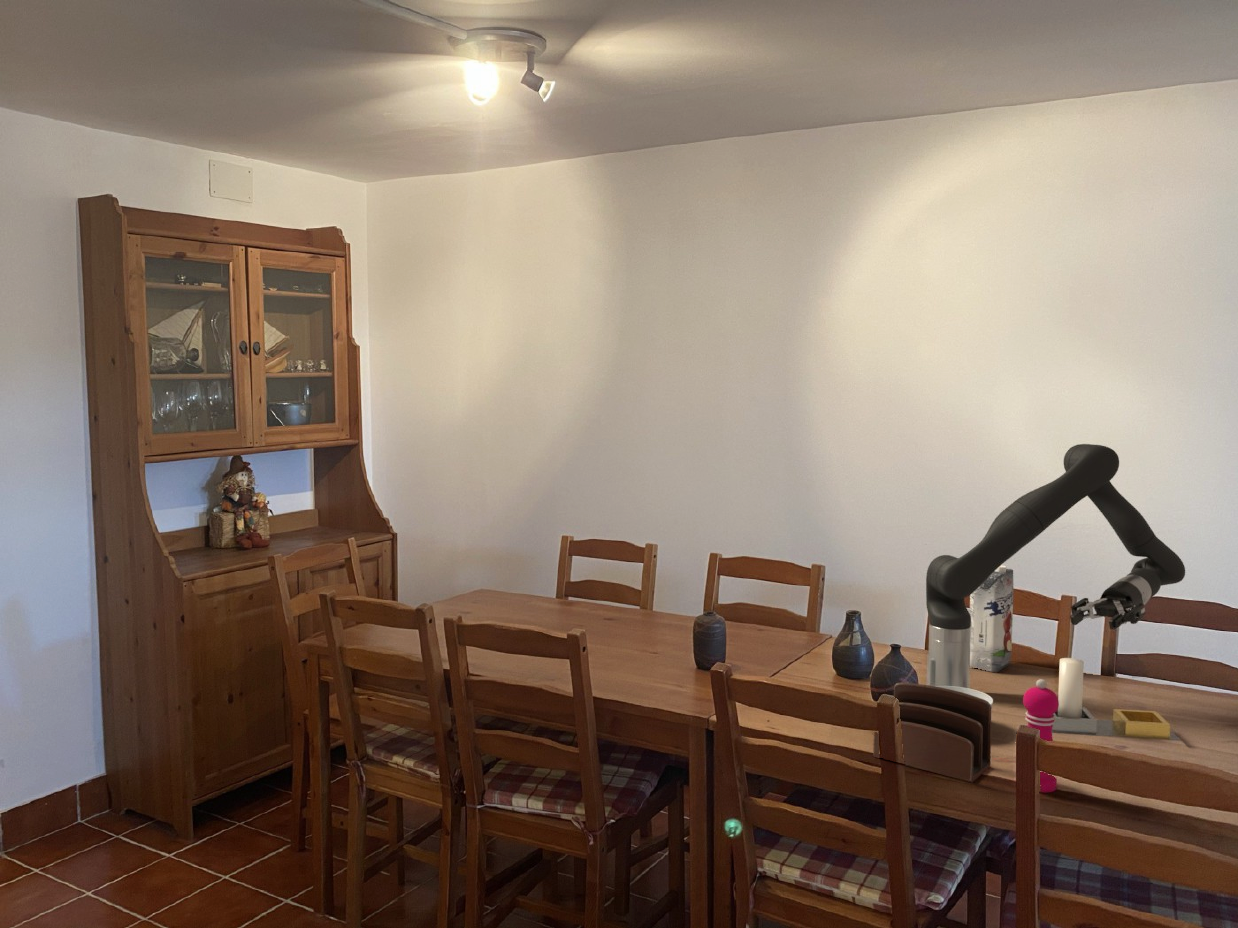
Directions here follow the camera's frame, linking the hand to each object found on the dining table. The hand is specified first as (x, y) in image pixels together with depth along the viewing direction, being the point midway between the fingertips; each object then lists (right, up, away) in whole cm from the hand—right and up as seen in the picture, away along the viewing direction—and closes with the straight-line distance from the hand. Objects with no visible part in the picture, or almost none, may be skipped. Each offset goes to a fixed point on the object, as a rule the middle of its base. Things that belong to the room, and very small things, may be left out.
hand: (1091, 623), depth 214 cm
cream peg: (-8, -21, -6) cm, 23 cm away
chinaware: (-32, -22, -7) cm, 40 cm away
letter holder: (-42, -24, -23) cm, 54 cm away
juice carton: (-7, -18, +40) cm, 45 cm away
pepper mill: (-26, -25, -34) cm, 50 cm away
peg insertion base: (-1, -22, -8) cm, 23 cm away
